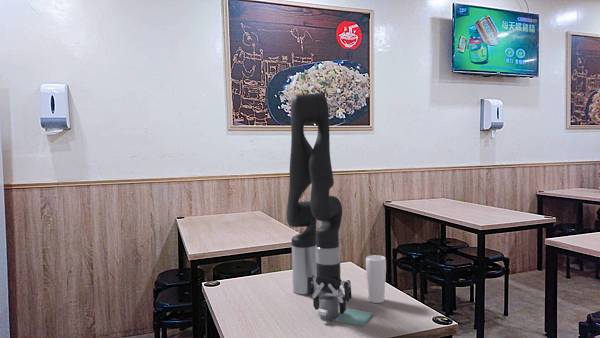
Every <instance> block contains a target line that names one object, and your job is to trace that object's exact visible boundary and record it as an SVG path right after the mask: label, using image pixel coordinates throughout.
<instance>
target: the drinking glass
mask: <svg viewBox="0 0 600 338" xmlns="http://www.w3.org/2000/svg"><path fill="white" fill-rule="evenodd" d="M365 272H366V281H367V283H366V284H367V291H368V292H367V293H368V301H369V302H371V303H374V304H382V303H384V301H385V294H386V293H385V290H386V289H385V288H386V278H387V277H386V274H387V259H386V257H385V256H383V255H379V254H378V255H375V254H371V255H367V256H366V257H365Z"/></svg>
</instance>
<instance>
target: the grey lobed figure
mask: <svg viewBox="0 0 600 338" xmlns="http://www.w3.org/2000/svg"><path fill="white" fill-rule="evenodd" d="M317 311H318V313H317V314H318V315H319V316H320V318H319V319H320V320H322V321H324V322H330V321H332V322H333V321H335V319H336V318H337V317H338V316H339V315H340V307H339V299H338V298H337V297H336V296H335V295H334V293H333V294H330V293H328V292H327V293H326V294H325V293H324V295H323V296H321V297H320V308H319V309H318V310H317Z"/></svg>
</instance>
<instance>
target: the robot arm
mask: <svg viewBox="0 0 600 338" xmlns="http://www.w3.org/2000/svg"><path fill="white" fill-rule="evenodd" d="M310 124H316V125H317V137H316V141H315V143H314V145H313V147H312V146H311V144H310V143H309V141H308V139H307V138H306V136H305V131H304V128H305V127H304V126H305V125H310ZM290 128H291V130H290V133H291V134H290V135H291V140H290V141H291V142H290V143H291V144H290V156H289V189H288V198H287V205H286V221H287V225H288V226H289V227H291V228H303V227H306V228H305V229H304V230H303V231H302V232H300V233H298V234H296V235H293V236H292V237H291V259H292V260H291V261H292V263H291V265H292V292H293V293H295V294H298V295H307V296H311V297H312V300H313V302H312V304H313V305H312V307H313V308H314V310H317V311H319V310H320V298H321V297H320V296H319V295H320V294H321V293H324V294H325V293H326V294H328V293H330V294H333V293H334V295H335V296H336V297H337V298H338V307H339V315H340V314H343V313H344V312H345V311H346V308H347V303H348V302H349V301H351V299H353V296H352V285H351V280H350V279H347V280H342V279H341V250H340V237H339V233H340V227H341V222H342V218H343V206H342V202H341V200H340V199H339V198H338V197H337V196H335V195H334V196H333V195H330V189H331V188H333V186H334V183H335V181H334V180H335V179H334V175H333V167H332V159H331V152H330V151H331V148H330V147H331V145H330V144H331V143H330V142H331V141H330V111H329V104H328V100H327V98H326V96H325V94H323V93H319V92H318V93H305V94H298V95H297V94H296V95H294V96H293V97H292V98H291V104H290ZM310 185H311V188H310V189H311V190H310V200H308V201H307V200H306V201H304V200H303V201H300V199H301V197H302V195H303V194H304V192H305V191H306V190H307V189H308V188H309V187H310ZM318 221H319V222H322V223H321V225H320V226H319V227H318V228H317V224H318V223H317V222H318ZM341 286H342V288H343V289H344V291H343V289H342V288H341Z"/></svg>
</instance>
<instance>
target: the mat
mask: <svg viewBox="0 0 600 338" xmlns="http://www.w3.org/2000/svg"><path fill="white" fill-rule="evenodd" d="M373 315H374V312H372V311H371V312H370V311H364V310H359V309H354V308H353V309H352V308H347V307H346V311H345V312H344V313H343V314H340V313H339V315H338V316H337V317H336V318H335V319H334V321H335V322H339V323H345V324H350V325H356V326H361V327H364V326H365V324H367V322H368V321H369V320H370V319H371V317H372V316H373Z"/></svg>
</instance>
